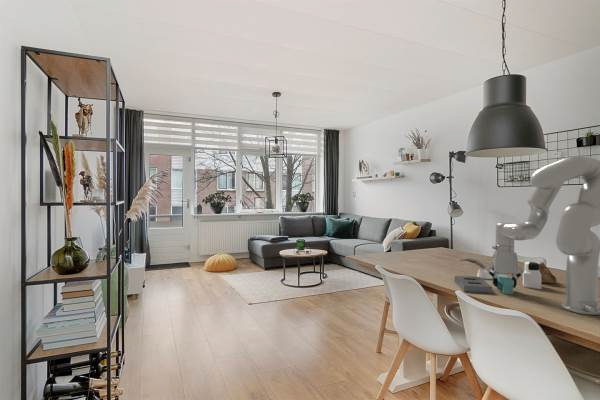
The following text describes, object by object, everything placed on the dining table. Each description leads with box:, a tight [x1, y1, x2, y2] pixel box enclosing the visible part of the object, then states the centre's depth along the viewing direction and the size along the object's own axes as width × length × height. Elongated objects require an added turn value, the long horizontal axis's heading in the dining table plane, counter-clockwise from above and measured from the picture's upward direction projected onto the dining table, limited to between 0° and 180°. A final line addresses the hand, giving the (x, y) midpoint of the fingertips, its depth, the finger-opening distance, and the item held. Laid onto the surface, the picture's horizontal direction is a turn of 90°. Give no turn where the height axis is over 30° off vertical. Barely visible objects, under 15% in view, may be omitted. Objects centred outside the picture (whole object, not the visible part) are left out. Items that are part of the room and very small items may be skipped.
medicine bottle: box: [522, 261, 542, 290], centre depth 165 cm, size 7×7×12 cm
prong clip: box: [496, 274, 514, 295], centre depth 157 cm, size 4×11×6 cm, turn 167°
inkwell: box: [459, 257, 494, 280], centre depth 186 cm, size 9×18×10 cm, turn 72°
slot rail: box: [454, 275, 493, 294], centre depth 164 cm, size 12×20×3 cm, turn 167°
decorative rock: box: [538, 261, 557, 284], centre depth 174 cm, size 12×6×11 cm, turn 83°
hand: (504, 286), depth 157 cm, fingers open, 6 cm apart
